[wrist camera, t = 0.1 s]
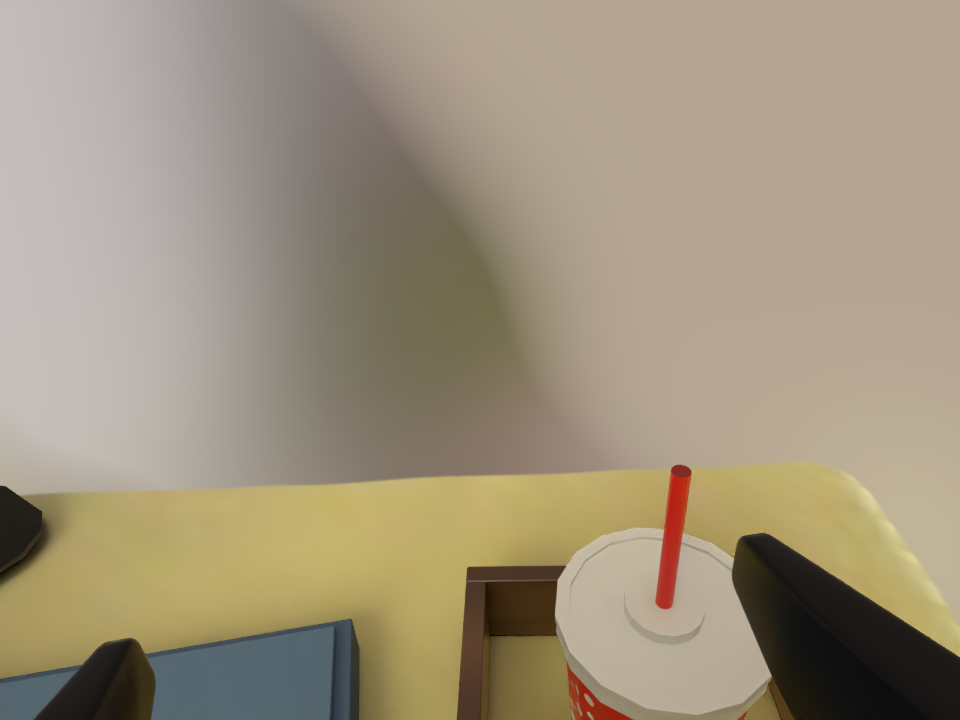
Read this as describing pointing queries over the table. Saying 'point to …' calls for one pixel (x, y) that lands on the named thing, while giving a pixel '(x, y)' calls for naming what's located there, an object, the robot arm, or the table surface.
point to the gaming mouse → (17, 527)
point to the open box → (511, 625)
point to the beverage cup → (657, 626)
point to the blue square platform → (232, 679)
